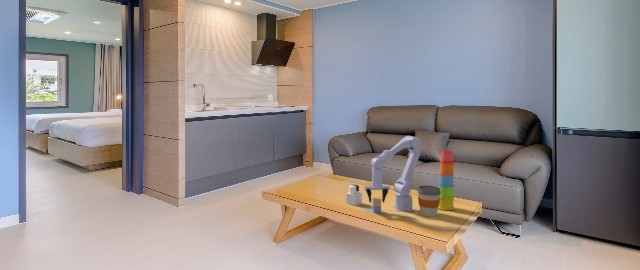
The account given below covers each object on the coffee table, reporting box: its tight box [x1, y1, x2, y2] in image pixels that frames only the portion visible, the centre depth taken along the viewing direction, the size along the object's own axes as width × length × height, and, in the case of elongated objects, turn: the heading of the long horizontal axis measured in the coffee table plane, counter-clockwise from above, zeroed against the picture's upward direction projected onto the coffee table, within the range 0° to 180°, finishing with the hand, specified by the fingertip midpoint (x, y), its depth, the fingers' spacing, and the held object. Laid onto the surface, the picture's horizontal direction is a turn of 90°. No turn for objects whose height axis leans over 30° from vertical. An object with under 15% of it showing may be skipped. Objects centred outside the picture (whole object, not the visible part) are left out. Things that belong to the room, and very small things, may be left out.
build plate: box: [363, 207, 385, 214], centre depth 214 cm, size 10×10×1 cm
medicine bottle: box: [345, 184, 363, 207], centre depth 227 cm, size 7×7×12 cm
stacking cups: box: [437, 150, 456, 211], centre depth 217 cm, size 10×10×35 cm
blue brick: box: [371, 204, 382, 214], centre depth 211 cm, size 4×4×4 cm
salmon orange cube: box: [371, 196, 382, 207], centre depth 211 cm, size 4×4×4 cm
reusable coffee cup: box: [417, 185, 441, 217], centre depth 208 cm, size 13×12×15 cm
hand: (376, 202), depth 210 cm, fingers open, 7 cm apart
